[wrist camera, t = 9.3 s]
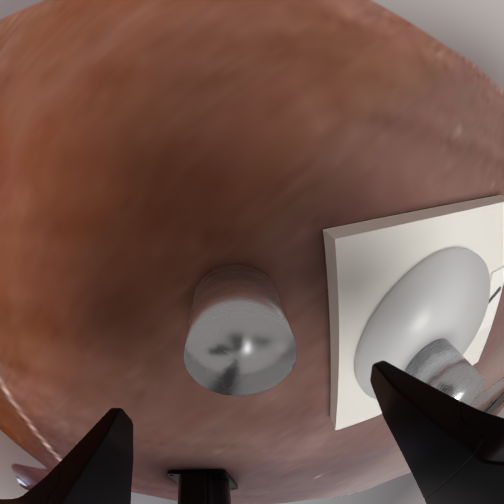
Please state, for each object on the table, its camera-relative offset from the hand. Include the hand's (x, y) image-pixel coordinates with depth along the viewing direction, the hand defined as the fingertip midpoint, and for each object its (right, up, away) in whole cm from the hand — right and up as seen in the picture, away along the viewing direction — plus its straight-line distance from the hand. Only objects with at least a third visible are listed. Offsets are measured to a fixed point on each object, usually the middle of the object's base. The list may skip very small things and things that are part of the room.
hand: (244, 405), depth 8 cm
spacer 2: (+13, -3, +7) cm, 15 cm away
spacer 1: (-1, +2, +6) cm, 7 cm away
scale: (+13, 0, +8) cm, 15 cm away
